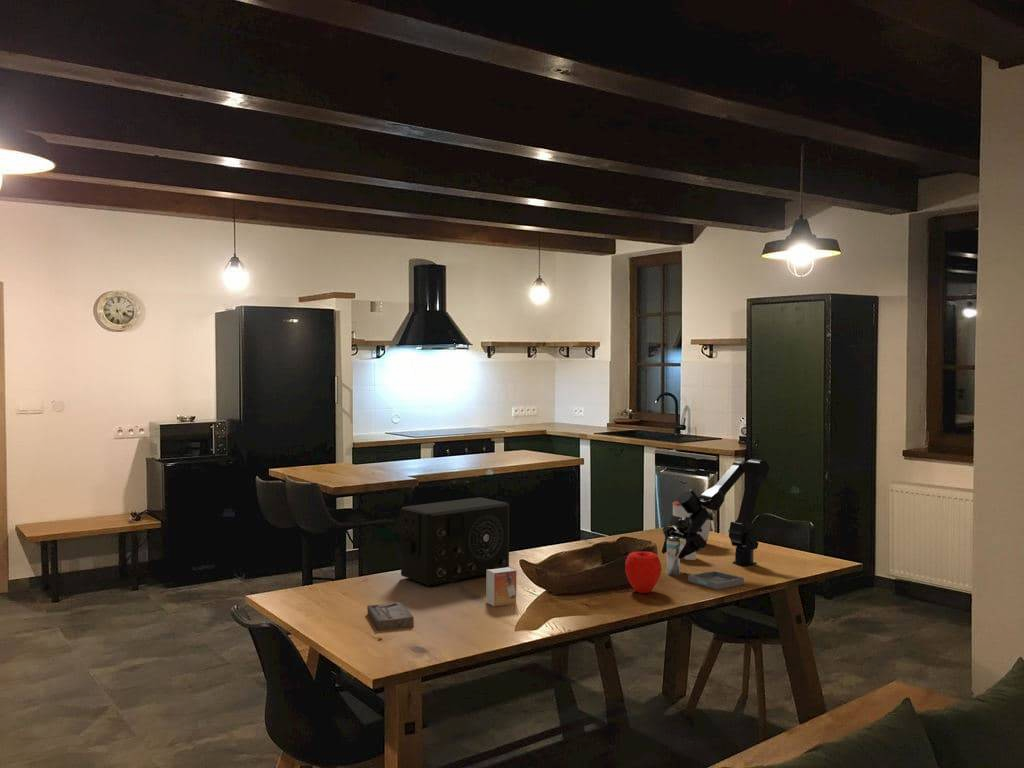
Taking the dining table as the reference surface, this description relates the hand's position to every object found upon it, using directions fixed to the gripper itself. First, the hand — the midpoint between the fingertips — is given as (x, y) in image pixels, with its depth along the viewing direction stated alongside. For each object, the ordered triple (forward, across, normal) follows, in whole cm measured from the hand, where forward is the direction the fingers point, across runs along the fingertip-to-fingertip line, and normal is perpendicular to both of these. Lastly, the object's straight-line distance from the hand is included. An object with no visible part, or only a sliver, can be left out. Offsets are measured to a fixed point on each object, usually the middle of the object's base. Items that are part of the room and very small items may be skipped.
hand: (670, 555), depth 306 cm
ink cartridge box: (-10, -17, +19) cm, 28 cm away
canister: (+4, 0, +6) cm, 7 cm away
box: (+81, +5, -70) cm, 107 cm away
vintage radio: (+53, -32, -43) cm, 76 cm away
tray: (0, +16, +9) cm, 19 cm away
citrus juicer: (-24, -36, +33) cm, 54 cm away
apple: (+21, +14, -11) cm, 27 cm away
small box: (+54, +5, -44) cm, 70 cm away
